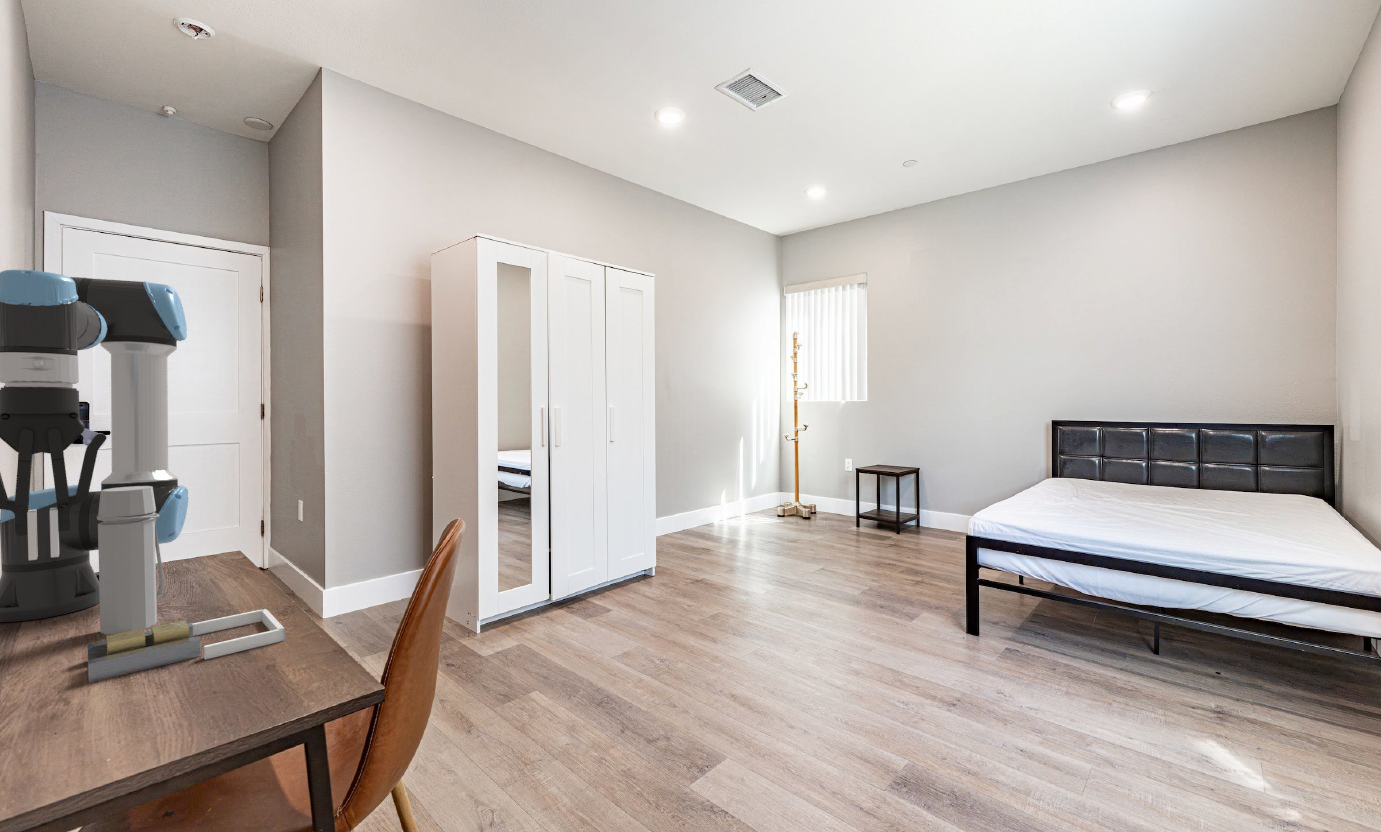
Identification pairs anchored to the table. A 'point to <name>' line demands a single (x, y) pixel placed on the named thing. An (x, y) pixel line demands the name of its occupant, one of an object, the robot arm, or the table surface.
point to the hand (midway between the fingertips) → (44, 556)
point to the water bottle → (128, 559)
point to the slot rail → (139, 656)
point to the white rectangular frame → (244, 642)
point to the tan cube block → (125, 641)
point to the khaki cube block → (170, 632)
